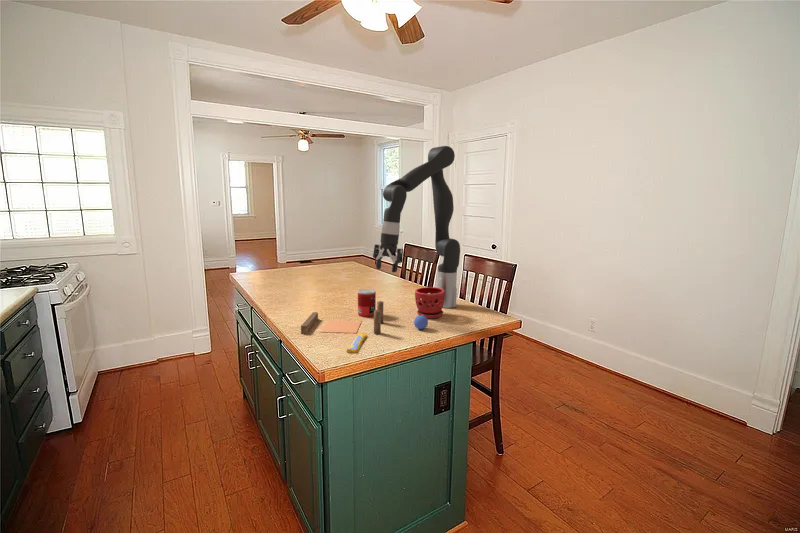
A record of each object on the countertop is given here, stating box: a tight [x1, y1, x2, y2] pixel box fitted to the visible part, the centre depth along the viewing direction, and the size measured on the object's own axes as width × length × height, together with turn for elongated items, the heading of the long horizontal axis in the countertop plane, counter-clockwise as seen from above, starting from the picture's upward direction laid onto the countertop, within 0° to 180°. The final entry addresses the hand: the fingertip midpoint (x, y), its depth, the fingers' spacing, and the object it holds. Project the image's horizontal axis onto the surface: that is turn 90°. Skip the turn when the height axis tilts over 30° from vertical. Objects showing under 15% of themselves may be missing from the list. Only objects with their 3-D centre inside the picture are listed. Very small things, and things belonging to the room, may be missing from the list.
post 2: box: [373, 309, 382, 335], centre depth 145 cm, size 3×3×9 cm
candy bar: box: [345, 333, 369, 354], centre depth 135 cm, size 17×4×2 cm, turn 173°
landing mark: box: [320, 320, 362, 334], centre depth 153 cm, size 14×14×1 cm
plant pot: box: [414, 286, 445, 320], centre depth 168 cm, size 13×13×12 cm
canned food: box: [357, 288, 377, 318], centre depth 168 cm, size 8×8×11 cm
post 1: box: [376, 300, 384, 325], centre depth 158 cm, size 3×3×9 cm
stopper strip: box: [300, 311, 319, 335], centre depth 153 cm, size 2×18×3 cm, turn 178°
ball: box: [413, 315, 429, 330], centre depth 151 cm, size 6×6×6 cm
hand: (386, 270), depth 161 cm, fingers open, 8 cm apart
